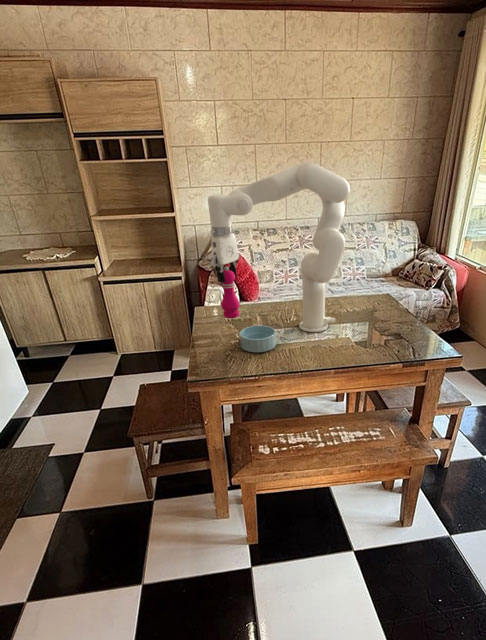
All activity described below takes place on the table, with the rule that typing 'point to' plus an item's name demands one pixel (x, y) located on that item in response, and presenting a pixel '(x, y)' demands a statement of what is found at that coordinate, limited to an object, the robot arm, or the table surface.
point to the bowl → (258, 338)
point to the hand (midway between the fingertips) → (227, 279)
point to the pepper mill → (229, 295)
